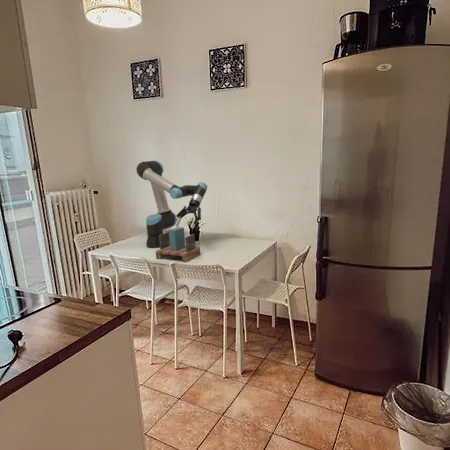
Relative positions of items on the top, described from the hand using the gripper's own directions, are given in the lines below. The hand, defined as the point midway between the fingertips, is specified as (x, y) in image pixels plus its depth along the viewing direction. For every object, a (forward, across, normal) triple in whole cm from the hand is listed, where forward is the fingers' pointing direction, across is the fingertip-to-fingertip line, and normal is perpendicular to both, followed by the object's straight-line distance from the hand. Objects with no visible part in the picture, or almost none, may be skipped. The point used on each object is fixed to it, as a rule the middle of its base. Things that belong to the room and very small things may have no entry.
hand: (183, 227), depth 247 cm
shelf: (+19, +1, -8) cm, 21 cm away
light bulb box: (-10, +63, -40) cm, 75 cm away
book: (+15, +1, -4) cm, 15 cm away
